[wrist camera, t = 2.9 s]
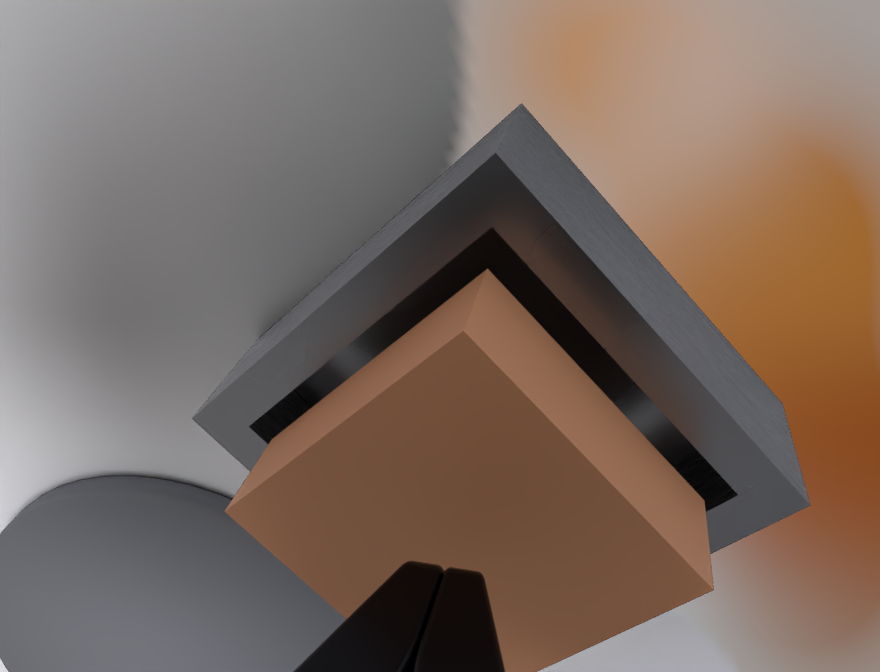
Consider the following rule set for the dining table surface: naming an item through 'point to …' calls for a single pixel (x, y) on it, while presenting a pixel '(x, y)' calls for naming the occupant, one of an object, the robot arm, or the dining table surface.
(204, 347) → the dining table surface
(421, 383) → the button
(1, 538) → the slate coaster
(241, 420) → the button housing
